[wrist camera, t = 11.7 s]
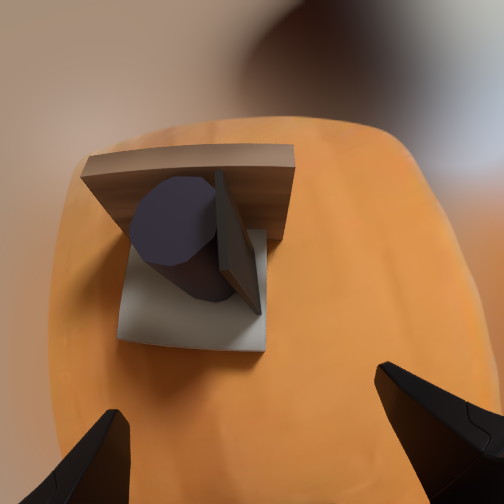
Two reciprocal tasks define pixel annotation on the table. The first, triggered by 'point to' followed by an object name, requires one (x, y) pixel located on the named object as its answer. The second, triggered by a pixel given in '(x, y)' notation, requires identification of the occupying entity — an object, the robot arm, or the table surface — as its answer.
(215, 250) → the dark grey mug
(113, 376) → the table surface
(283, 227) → the wall board
